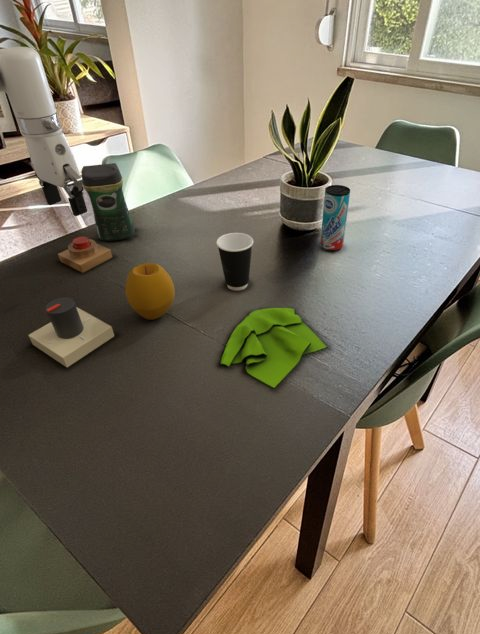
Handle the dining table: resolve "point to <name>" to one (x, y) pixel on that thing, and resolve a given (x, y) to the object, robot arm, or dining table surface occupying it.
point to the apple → (149, 290)
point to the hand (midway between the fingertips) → (67, 208)
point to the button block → (85, 256)
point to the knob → (64, 318)
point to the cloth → (270, 344)
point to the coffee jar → (108, 201)
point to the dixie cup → (235, 259)
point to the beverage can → (334, 217)
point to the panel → (72, 339)
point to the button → (81, 243)
